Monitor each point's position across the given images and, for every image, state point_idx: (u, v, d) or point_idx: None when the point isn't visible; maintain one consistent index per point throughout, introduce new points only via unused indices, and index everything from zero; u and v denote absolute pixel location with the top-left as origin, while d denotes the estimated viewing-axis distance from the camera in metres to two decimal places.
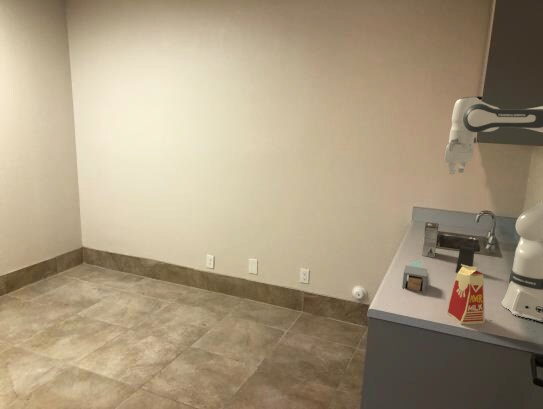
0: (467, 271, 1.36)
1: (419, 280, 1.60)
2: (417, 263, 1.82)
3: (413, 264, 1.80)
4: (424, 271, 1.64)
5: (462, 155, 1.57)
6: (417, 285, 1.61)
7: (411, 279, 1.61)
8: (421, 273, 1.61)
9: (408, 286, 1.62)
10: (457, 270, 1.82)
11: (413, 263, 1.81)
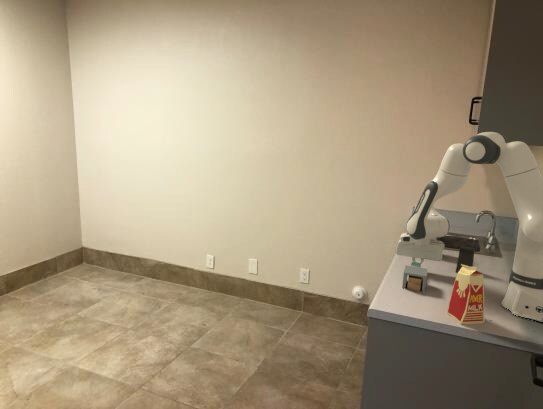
0: (467, 271, 1.36)
1: (419, 280, 1.60)
2: (417, 264, 1.80)
3: (413, 264, 1.79)
4: (424, 271, 1.64)
5: None
6: (417, 285, 1.61)
7: (411, 279, 1.61)
8: (421, 273, 1.61)
9: (408, 286, 1.62)
10: (457, 270, 1.82)
11: (413, 264, 1.80)
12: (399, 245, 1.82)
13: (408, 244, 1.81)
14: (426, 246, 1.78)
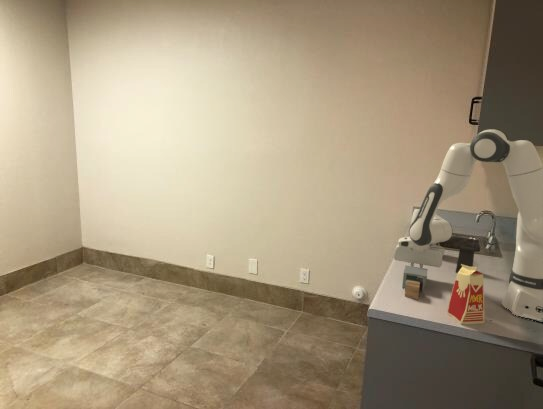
0: (467, 271, 1.36)
1: (417, 288, 1.53)
2: None
3: None
4: (424, 271, 1.64)
5: None
6: (415, 293, 1.53)
7: (409, 286, 1.54)
8: (421, 273, 1.61)
9: (406, 294, 1.55)
10: (457, 270, 1.82)
11: None
12: (397, 250, 1.75)
13: (406, 249, 1.73)
14: (425, 251, 1.70)
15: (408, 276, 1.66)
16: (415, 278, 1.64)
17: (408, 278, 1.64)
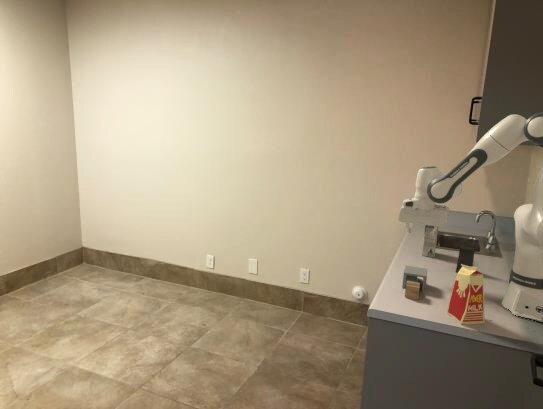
0: (467, 271, 1.36)
1: (417, 288, 1.52)
2: None
3: None
4: (424, 271, 1.64)
5: None
6: (415, 293, 1.53)
7: (409, 287, 1.53)
8: (421, 273, 1.61)
9: (406, 295, 1.54)
10: (457, 270, 1.82)
11: None
12: (402, 211, 1.73)
13: (411, 210, 1.72)
14: (430, 211, 1.69)
15: (408, 276, 1.65)
16: (415, 278, 1.63)
17: (408, 279, 1.63)
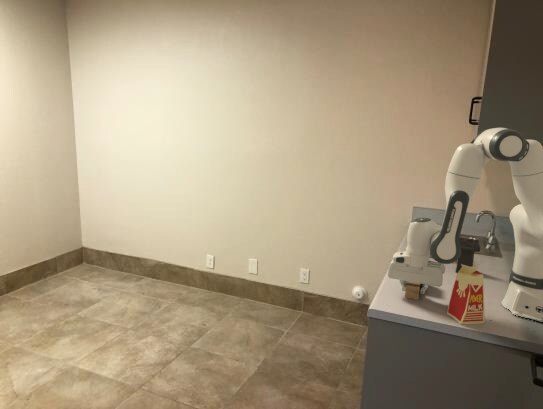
0: (467, 271, 1.36)
1: (417, 288, 1.52)
2: None
3: None
4: None
5: None
6: (415, 293, 1.53)
7: (409, 287, 1.53)
8: None
9: (406, 295, 1.54)
10: (457, 270, 1.82)
11: None
12: (392, 267, 1.54)
13: (402, 266, 1.53)
14: (423, 268, 1.50)
15: None
16: None
17: None
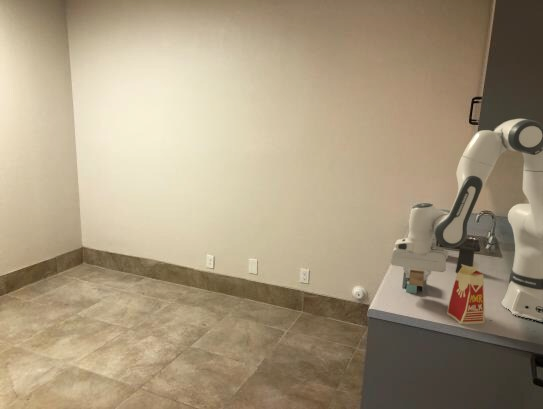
0: (467, 271, 1.36)
1: (421, 275, 1.51)
2: None
3: None
4: (424, 271, 1.64)
5: None
6: (420, 280, 1.51)
7: (413, 274, 1.52)
8: None
9: (410, 282, 1.53)
10: (457, 270, 1.82)
11: None
12: (394, 254, 1.53)
13: (405, 252, 1.52)
14: (426, 254, 1.49)
15: None
16: None
17: (409, 278, 1.63)
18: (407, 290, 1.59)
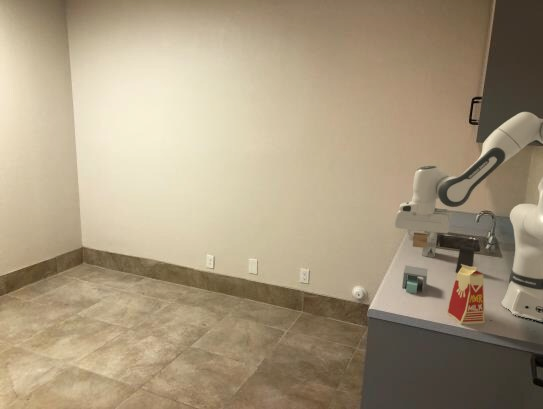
0: (467, 271, 1.36)
1: (425, 236, 1.54)
2: None
3: None
4: (424, 271, 1.64)
5: None
6: (423, 242, 1.55)
7: (417, 236, 1.55)
8: (421, 273, 1.61)
9: (414, 244, 1.56)
10: (457, 270, 1.82)
11: None
12: (398, 216, 1.56)
13: (409, 215, 1.55)
14: (430, 216, 1.52)
15: (408, 276, 1.65)
16: (416, 278, 1.64)
17: (409, 278, 1.63)
18: (407, 290, 1.59)
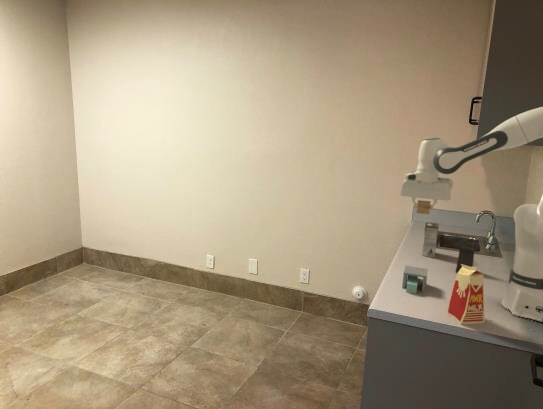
0: (467, 271, 1.36)
1: (428, 203, 1.67)
2: None
3: None
4: (424, 271, 1.64)
5: None
6: (427, 208, 1.67)
7: (420, 203, 1.68)
8: (421, 273, 1.61)
9: (418, 210, 1.68)
10: (457, 270, 1.82)
11: None
12: (404, 185, 1.69)
13: (414, 183, 1.67)
14: (433, 184, 1.65)
15: (408, 276, 1.65)
16: (416, 278, 1.64)
17: (409, 278, 1.63)
18: (407, 290, 1.59)
